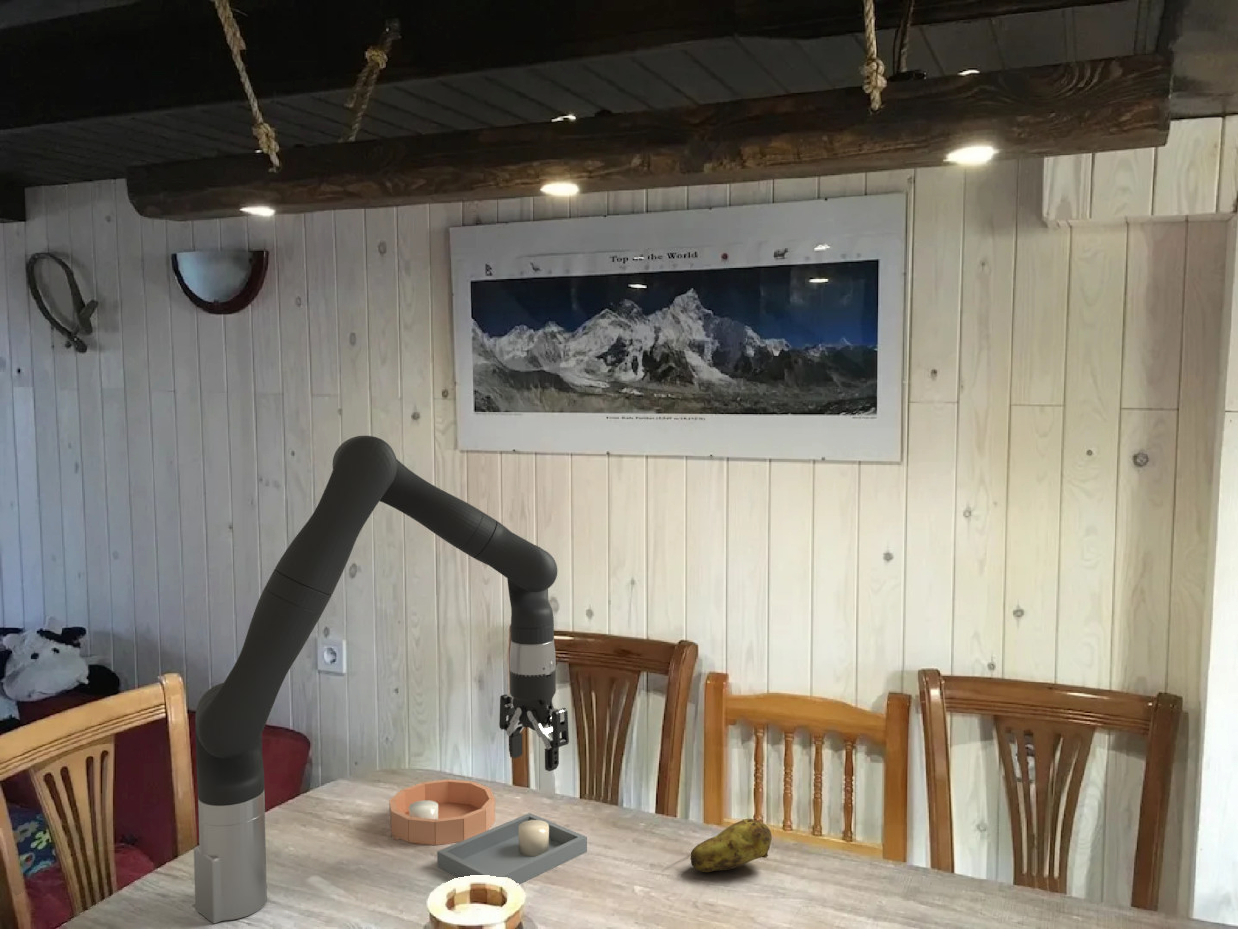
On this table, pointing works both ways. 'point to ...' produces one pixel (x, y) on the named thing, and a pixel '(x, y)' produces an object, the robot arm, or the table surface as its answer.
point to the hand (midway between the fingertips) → (533, 763)
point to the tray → (510, 852)
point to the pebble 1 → (424, 809)
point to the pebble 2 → (533, 838)
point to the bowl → (443, 812)
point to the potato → (732, 847)
